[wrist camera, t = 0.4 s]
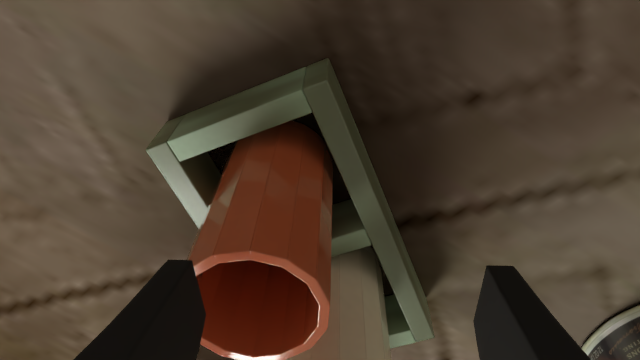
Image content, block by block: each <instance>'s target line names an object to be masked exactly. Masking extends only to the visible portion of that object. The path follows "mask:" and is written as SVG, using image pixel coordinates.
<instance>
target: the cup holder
mask: <svg viewBox="0 0 640 360" xmlns="http://www.w3.org/2000/svg"><path fill="white" fill-rule="evenodd" d="M312 112H313V115H314V117H315V119H316V121H317V123H318V126H319V128H320V130H321V132H322V135H323V137H324V139H325V141H326V143H327V146H328V148H329V150H330V152H331V154H332V157H333V159H334V161H335V163H336V166H337V168H338V170H339V172H340V174H341V177H342V179H343V181H344V183H345V186H346V188H347V190H348V192H349V194H350V197H351V199H349V200H346V201H343V202H340V203H337V204H334V205H332V248H331V257H333V256H336V255H340V254H343V253H347V252H350V251H353V250H357V249H360V248H364V247H367V246H370V245H371V243H372V245H373V248H374V250H375V252H376V254H377V257H378V259H379V261H380V263H381V265H382V268H383V270H384V272H385V274H386V277H387V279H388V281H389V283H390V285H391V288H392V290H393V292H394V294H393V295H390V296H386V297H384V299H385V308H386V316H387V325H388V334H389V343H390V349H391V348H395V347H399V346H403V345H408V344H412V343H415V342H419V341H424V340H428V339H432V338H434V337H435V336H434V331H433V327H432V322H431V317H430V313H429V308H428V304H427V299H426V297H425V294H424V292H423V289H422V287H421V284H420V282H419V279H418V277H417V274H416V272H415V269H414V267H413V264H412V262H411V260H410V257H409V255H408V252H407V250H406V247H405V245H404V242H403V240H402V237H401V235H400V232H399V230H398V228H397V225H396V223H395V220H394V218H393V215H392V213H391V210H390V208H389V205H388V203H387V200H386V198H385V196H384V193H383V191H382V188H381V186H380V183H379V181H378V178H377V176H376V173H375V171H374V168H373V166H372V164H371V161H370V159H369V156H368V154H367V151H366V149H365V146H364V144H363V141H362V139H361V136H360V134H359V131H358V129H357V127H356V124H355V122H354V119H353V117H352V114H351V112H350V109H349V107H348V104H347V102H346V99H345V97H344V95H343V92H342V90H341V87H340V85H339V82H338V80H337V77H336V75H335V72H334V70H333V67H332V65H331V63H330V60H329V59H328V58H326V59H324V60H321V61H319V62H316V63H314V64H311V65H309V66H307V68H306V67H303V68H301V69H298V70H296V71H293V72H291V73H288V74H286V75H283V76H281V77H278V78H276V79H273V80H271V81H268V82H266V83H263V84H261V85H258V86H256V87H253V88H251V89H248V90H245V91H243V92H240V93H238V94H235V95H233V96H230V97H228V98H225V99H223V100H220V101H218V102H215V103H213V104H210V105H208V106H205V107H203V108H200V109H198V110H195V111H193V112H190V113H187V114H186V115H183V116H180V117H178V118H175V119H173V120H170V121H167V122H166V123H165V125H164V126H163V127H162V129H161V130H160V131H159V133H158V134H157V135H156V137H155V138H154V139H153V141H152V142H151V143H150V145H149V146H148V147H147V149H146V152H147V153H148V154H149V156H150V157H151V159H152V160H153V162H154V163H155V165H156V166H157V168H158V169H159V171H160V172H161V174H162V175H163V177H164V178H165V180H166V181H167V183H168V184H169V186H170V187H171V189H172V190H173V192H174V193H175V195H176V196H177V197H178V199H179V200H180V202H181V203H182V205H183V206H184V208H185V209H186V211H187V212H188V214H189V215H190V217H191V218H192V220H193V221H194V223H195V224H196V226H197V227H198V229H199V228H200V226H201V223H202V221H203V219H204V216H205V214H206V211H207V209H208V207H209V204H210V202H211V199H212V197H213V194H214V192H215V190H216V187H217V185H218V182H219V180H220V177H221V174H220V172H219V170H218V169H217V167H216V165H215V164H214V162H213V160H212V159H211V157H210V155H209V154H208V151H210V150H213V149H216V148H218V147H221V146H224V145H226V144H229V143H232V142H235V141H237V140H240V139H243V138H245V137H248V136H251V135H253V134H256V133H259V132H261V131H264V130H267V129H270V128H272V127H275V126H278V125H280V124H283V123H286V122H288V121H291V120H294V119H296V118H299V117H302V116H305V115H307V114H310V113H312Z"/></svg>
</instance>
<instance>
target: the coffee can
mask: <svg viewBox="0 0 640 360" xmlns="http://www.w3.org/2000/svg"><path fill="white" fill-rule="evenodd" d="M581 349H582V350H583V351H584V352H585V353H586V354H587V355H588V357H589V358H590V359H591V360H640V305H638V306H635V307H633V308H631V309H629V310H627V311H624V312H622V313H621V314H619V315H617V316H615V317H613V318H612V319H610V320H609V321H607V322H606V323H605V324H603V325H602V326H601V327H599V328H598V329H597V330H596V331H595V332H594V333H593V334H592V335H591V336H590V337H589V338H588V339H587V341H586V342H585V343H584V345H583V346H582V348H581Z"/></svg>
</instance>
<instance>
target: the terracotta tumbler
mask: <svg viewBox="0 0 640 360" xmlns="http://www.w3.org/2000/svg"><path fill="white" fill-rule="evenodd" d="M332 195H333V164H332V158H331V154H330V151H329V149H328V147H327V145H326V143H325V142H324V140H323V139H322V138H321V137H320V136H319V135H318V134H317V133H316V132H315V131H313V130H312V129H311V128H309V127H307V126H305V125H303V124H301V123H298V122H295V121H288V122H286V123H283V124H280V125H278V126H275V127H272V128H270V129H267V130H264V131H261V132H259V133H256V134H253V135H251V136H248V137H245V138H243V139H240V140H237V142H236V143H235V146H234V148H233V150H232V152H231V154H230V156H229V158H228V161H227V163H226V165H225V168H224V170H223V173H222V175H221V177H220V180H219V182H218V185H217V187H216V190H215V192H214V194H213V197H212V199H211V202H210V204H209V207H208V209H207V211H206V214H205V216H204V219H203V221H202V223H201V226H200V228H199V231H198V233H197V236H196V238H195V240H194V243H193V245H192V248H191V250H190V252H189V255H188V257H187V260H192V262H193V266H194V270H195V273H196V277H197V281H198V285H199V289H200V292H201V296H202V300H203V304H204V308H205V311H206V318H205V323H204V328H203V333H202V338H201V342H200V345H202V346H204V347H206V348H207V349H209V350H211V351H213V352H215V353H216V354H218V355H220V356H222V357H227V358H232V359H237V360H287V359H289V358H291V357H293V356H296V355H298V354H300V353H302V352H305V351H307V350H309V349H311V348H312V347H313V346H314V345H315V343H316V342H317V341H318V340H319V339H320V337H321V336H322V335H323V334H324V333H325V332H326V330H327V328H328V324H329V314H330V300H331V248H332Z"/></svg>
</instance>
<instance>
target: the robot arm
mask: <svg viewBox="0 0 640 360" xmlns="http://www.w3.org/2000/svg"><path fill="white" fill-rule="evenodd" d="M205 318H206V311H205V308H204V304H203V300H202V296H201V292H200V289H199V285H198V281H197V277H196V273H195V270H194V266H193V262H192V260H168V261H167V262H166V263H165V264H164V265H163V266H162V267H161V268H160V269H159V270H158V271H157V272H156V274H155V275H154V276H153V277H152V278H151V279H150V280H149V281H148V283H147V284H146V285H145V286H144V287H143V288H142V289H141V290H140V292H139V293H138V294H137V295H136V296H135V297H134V298H133V299H132V300H131V301H130V303H129V304H128V305H127V306H126V307H125V308H124V309H123V310H122V311H121V312H120V313H119V314H118V315H117V316H116V317H115V319H114V320H113V321H112V322H111V323H110V324H109V325H108V326H107V327H106V328H105V329H104V330H103V331H102V332H101V333H100V334H99V335H98V336H97V337H96V338H95V339H94V340H93V341H92V342H91V343H90V344H89V345H88V346H87V347H86V348H85V349H84V350H83V351H82V352H81V353H80V354H79V355H78V356H77V357H76V358H75V359H74V360H196V358H197V355H198V351H199V346H200V342H201V338H202V333H203V328H204V323H205ZM474 327H475V333H476V340H477V346H478V351H479V357H480V360H591V359H590V358H589V357H588V355H587V354H586V353H585V352H584V351H583V350H582V349H581V348H580V347H579V345H578V344H577V343H576V342H575V341H574V340H573V338H572V337H571V336H570V335H569V334H568V333H567V332H566V330H565V329H564V328H563V327H562V326H561V325H560V323H559V322H558V321H557V320H556V319H555V317H554V316H553V315H552V314H551V313H550V311H549V310H548V309H547V308H546V306H545V305H544V304H543V303H542V302H541V300H540V299H539V298H538V296H537V295H536V294H535V293H534V291H533V290H532V289H531V288H530V286H529V285H528V284H527V283H526V281H525V280H524V279H523V277H522V276H521V275H520V274H519V272H518V271H517V270H516V269H515V268H514V267H513V266H486V271H485V275H484V279H483V283H482V288H481V292H480V296H479V300H478V305H477V309H476V313H475V317H474Z"/></svg>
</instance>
